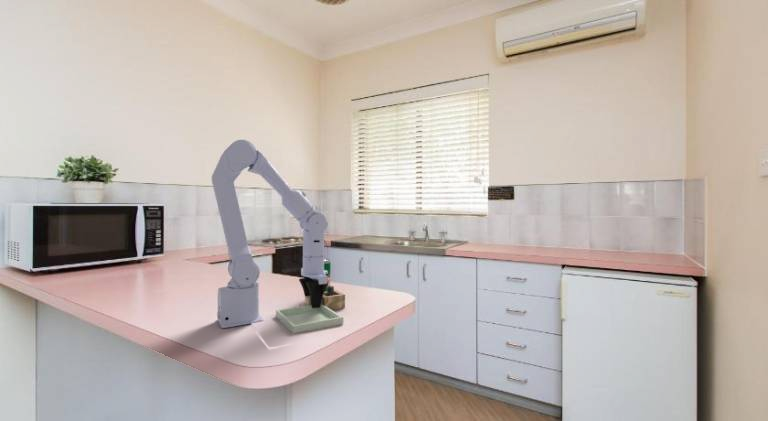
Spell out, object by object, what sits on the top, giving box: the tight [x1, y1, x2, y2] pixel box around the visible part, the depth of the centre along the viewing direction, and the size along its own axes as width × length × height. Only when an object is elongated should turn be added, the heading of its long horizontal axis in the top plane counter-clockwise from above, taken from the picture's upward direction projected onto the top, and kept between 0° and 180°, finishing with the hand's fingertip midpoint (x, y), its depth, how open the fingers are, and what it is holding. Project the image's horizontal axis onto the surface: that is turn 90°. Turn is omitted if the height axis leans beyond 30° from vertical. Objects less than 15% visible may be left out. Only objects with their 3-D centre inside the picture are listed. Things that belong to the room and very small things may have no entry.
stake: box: [327, 285, 346, 311], centre depth 100 cm, size 6×6×6 cm
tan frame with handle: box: [304, 289, 346, 311], centre depth 99 cm, size 10×6×4 cm, turn 122°
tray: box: [275, 304, 344, 335], centre depth 88 cm, size 12×14×2 cm
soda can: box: [324, 257, 332, 292], centre depth 111 cm, size 5×5×12 cm
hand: (313, 305), depth 98 cm, fingers open, 4 cm apart
